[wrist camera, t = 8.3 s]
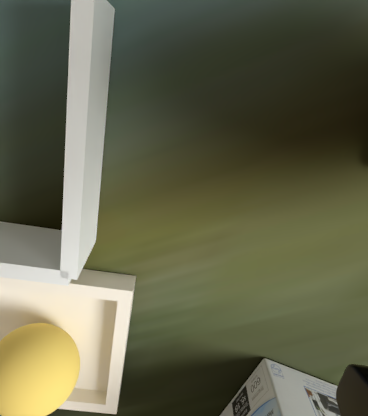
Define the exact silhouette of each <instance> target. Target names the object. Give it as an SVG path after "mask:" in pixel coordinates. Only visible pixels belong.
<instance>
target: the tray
mask: <svg viewBox="0 0 368 416" xmlns="http://www.w3.org/2000/svg"><path fill="white" fill-rule="evenodd" d="M135 281H136V276H133V275H126V274H118V273H111V272H103V271H96V270H88V269H82V271H81V273H80V275H79V277H78V279H77V280H74V279H71V281H70V283H69V285H68V286H66V285H58V284H50V283H42V282H34V281H27V280H19V279H11V278H3V277H0V341H1V340H2V339H3V338H4V337H5V336H6V335H8V334H9V333H10V332H12V331H14V330H15V329H17V328H19V327H22V326H25V325H28V324H33V323H47V324H52V325H55V326H57V327H60V328H61V329H63V330H64V331H66V332H67V333H68V334H69V335H70V336H71V337H72V339H73V340H74V342H75V343H76V346H77V348H78V351H79V356H80V371H79V377H78V380H77V382H76V385H75V387H74V389H73V391H72V393H71V394H70V396H69V397H68V398H67V400H66V401H65V402H64V403H63V404H62V405H61V406H60V407H59V408H57V409H67V410H77V411H87V412H97V413H107V414H117V408H118V403H119V397H120V391H121V384H122V376H123V369H124V362H125V354H126V347H127V340H128V333H129V325H130V318H131V311H132V303H133V296H134V289H135Z"/></svg>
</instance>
